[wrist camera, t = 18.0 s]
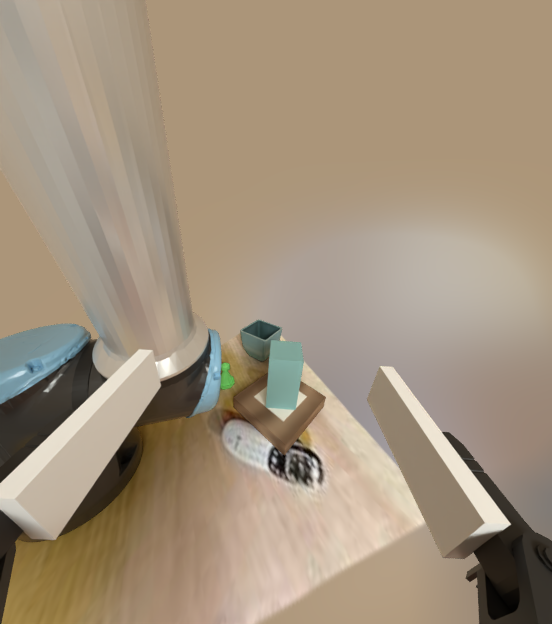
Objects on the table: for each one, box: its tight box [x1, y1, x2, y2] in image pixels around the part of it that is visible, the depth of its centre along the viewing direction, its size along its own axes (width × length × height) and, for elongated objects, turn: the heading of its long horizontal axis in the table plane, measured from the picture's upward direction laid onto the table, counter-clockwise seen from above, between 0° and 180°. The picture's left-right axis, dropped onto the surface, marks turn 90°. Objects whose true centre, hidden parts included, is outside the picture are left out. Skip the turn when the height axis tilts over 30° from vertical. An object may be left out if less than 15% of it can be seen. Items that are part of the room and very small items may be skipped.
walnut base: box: [234, 373, 326, 455], centre depth 43 cm, size 14×14×3 cm
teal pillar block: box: [266, 340, 304, 410], centre depth 40 cm, size 6×6×12 cm
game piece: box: [220, 362, 234, 390], centre depth 48 cm, size 4×4×6 cm
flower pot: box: [240, 320, 282, 362], centre depth 58 cm, size 9×9×9 cm
